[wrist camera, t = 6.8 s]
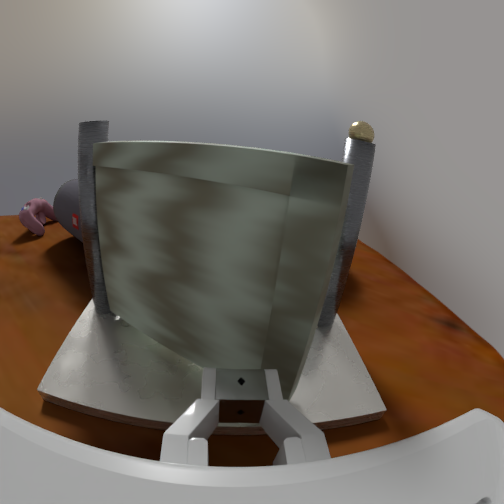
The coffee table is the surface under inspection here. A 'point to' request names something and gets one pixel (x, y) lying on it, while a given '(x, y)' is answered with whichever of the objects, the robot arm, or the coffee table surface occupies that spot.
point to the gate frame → (184, 371)
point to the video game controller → (40, 210)
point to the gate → (220, 248)
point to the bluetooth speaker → (68, 208)
